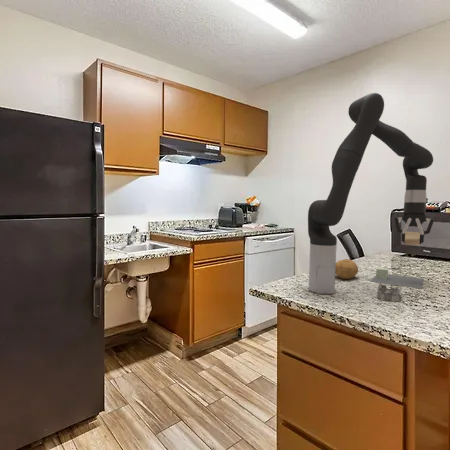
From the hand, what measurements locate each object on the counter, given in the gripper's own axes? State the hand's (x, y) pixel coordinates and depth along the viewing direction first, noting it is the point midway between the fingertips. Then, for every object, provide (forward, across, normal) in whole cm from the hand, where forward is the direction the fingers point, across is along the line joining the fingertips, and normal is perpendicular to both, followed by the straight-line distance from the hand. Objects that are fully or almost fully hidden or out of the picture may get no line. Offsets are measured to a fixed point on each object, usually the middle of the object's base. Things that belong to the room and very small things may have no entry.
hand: (412, 243), depth 125 cm
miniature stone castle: (+17, -4, -27) cm, 33 cm away
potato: (+17, -23, -9) cm, 30 cm away
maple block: (0, 0, 0) cm, 0 cm away
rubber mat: (+16, -4, 0) cm, 17 cm away
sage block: (+16, -10, 0) cm, 19 cm away
